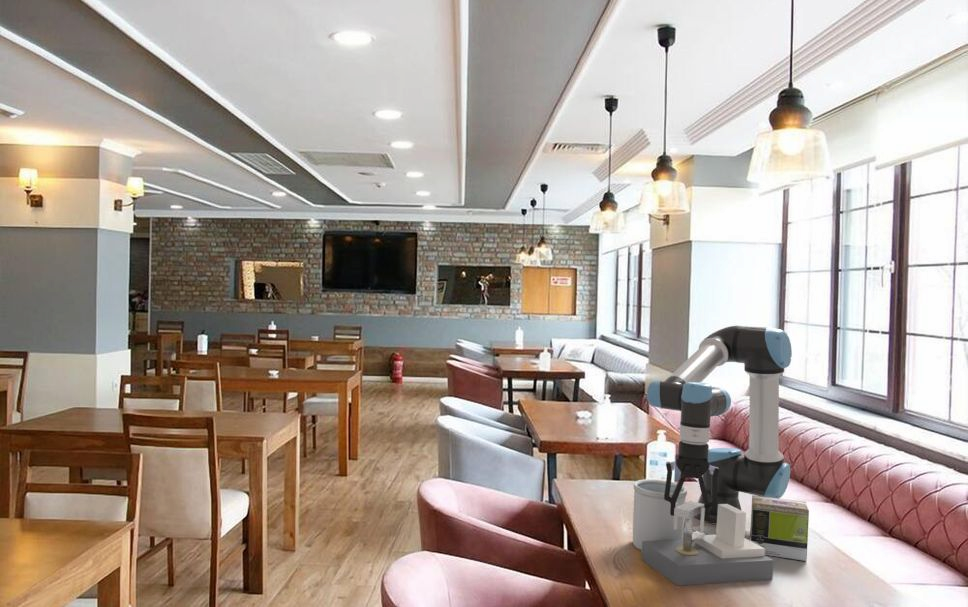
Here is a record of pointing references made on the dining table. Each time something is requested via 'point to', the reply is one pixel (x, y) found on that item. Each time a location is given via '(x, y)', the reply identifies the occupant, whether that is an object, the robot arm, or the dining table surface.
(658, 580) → the dining table surface
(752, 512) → the tea box
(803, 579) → the dining table surface
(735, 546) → the cover
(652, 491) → the utensil holder
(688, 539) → the t key
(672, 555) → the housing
